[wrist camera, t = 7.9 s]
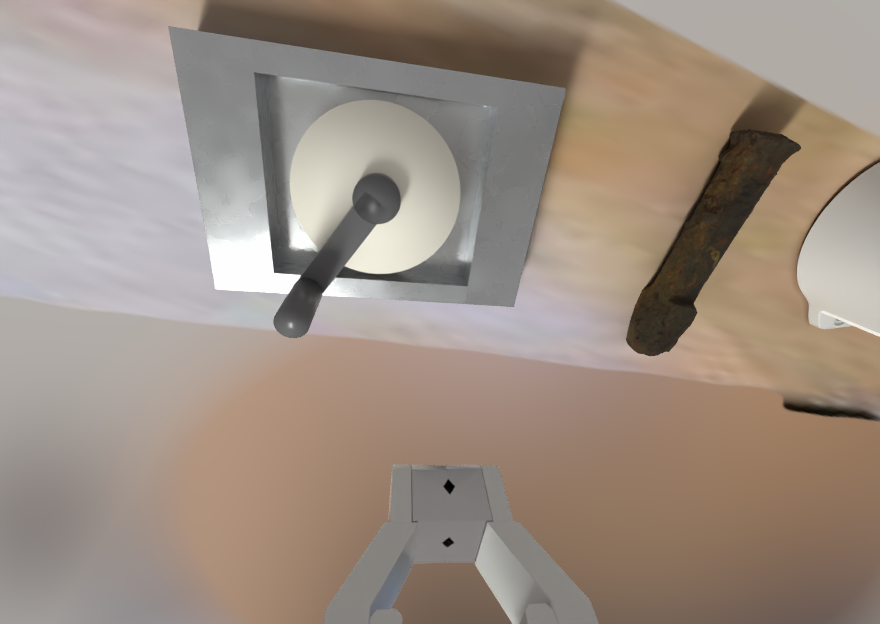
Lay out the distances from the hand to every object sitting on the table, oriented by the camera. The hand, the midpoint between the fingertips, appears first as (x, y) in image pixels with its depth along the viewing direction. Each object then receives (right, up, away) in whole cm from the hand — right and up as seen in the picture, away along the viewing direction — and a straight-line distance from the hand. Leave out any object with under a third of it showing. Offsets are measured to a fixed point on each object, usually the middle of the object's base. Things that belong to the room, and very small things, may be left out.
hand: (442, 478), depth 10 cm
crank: (-5, +12, +16) cm, 21 cm away
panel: (-4, +14, +16) cm, 22 cm away
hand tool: (+21, +10, +22) cm, 32 cm away
